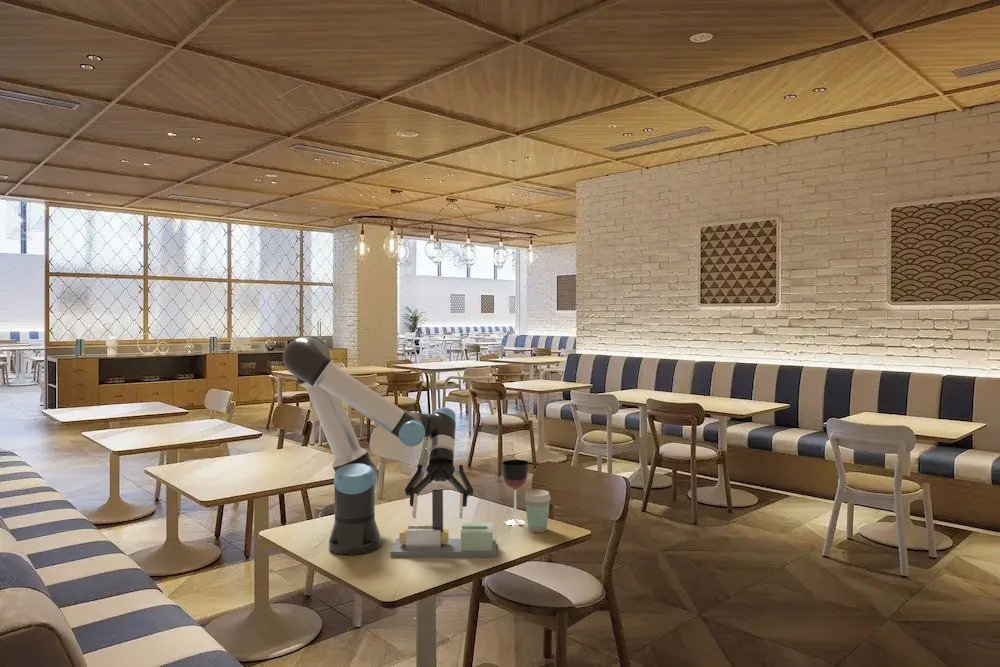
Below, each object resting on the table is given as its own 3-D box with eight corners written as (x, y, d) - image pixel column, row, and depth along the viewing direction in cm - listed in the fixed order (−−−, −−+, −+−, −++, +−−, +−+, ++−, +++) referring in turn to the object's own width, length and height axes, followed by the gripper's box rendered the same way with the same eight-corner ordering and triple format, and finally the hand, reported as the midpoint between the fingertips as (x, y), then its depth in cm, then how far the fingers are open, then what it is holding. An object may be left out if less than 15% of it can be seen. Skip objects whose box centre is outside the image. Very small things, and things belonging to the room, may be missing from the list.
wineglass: (498, 520, 222) (498, 461, 221) (522, 517, 225) (522, 458, 224) (507, 528, 215) (507, 466, 214) (532, 524, 218) (532, 464, 217)
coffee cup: (551, 525, 217) (551, 489, 216) (550, 534, 208) (550, 496, 208) (524, 525, 218) (524, 488, 217) (523, 533, 209) (523, 496, 209)
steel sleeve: (405, 548, 193) (405, 530, 192) (408, 541, 198) (408, 524, 198) (440, 548, 192) (440, 530, 192) (442, 541, 198) (442, 524, 197)
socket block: (460, 550, 191) (460, 532, 190) (462, 539, 199) (462, 522, 199) (492, 550, 191) (492, 532, 190) (492, 539, 199) (492, 522, 199)
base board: (390, 557, 190) (390, 551, 190) (396, 543, 201) (396, 538, 201) (495, 557, 189) (495, 552, 189) (496, 543, 200) (496, 538, 200)
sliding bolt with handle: (399, 543, 194) (399, 491, 193) (401, 539, 197) (400, 488, 196) (447, 543, 193) (447, 491, 193) (448, 539, 197) (448, 488, 196)
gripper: (482, 459, 210) (480, 522, 195) (403, 459, 210) (395, 522, 195) (481, 446, 204) (480, 509, 190) (400, 446, 204) (392, 509, 190)
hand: (437, 516), depth 193 cm, fingers open, 13 cm apart
